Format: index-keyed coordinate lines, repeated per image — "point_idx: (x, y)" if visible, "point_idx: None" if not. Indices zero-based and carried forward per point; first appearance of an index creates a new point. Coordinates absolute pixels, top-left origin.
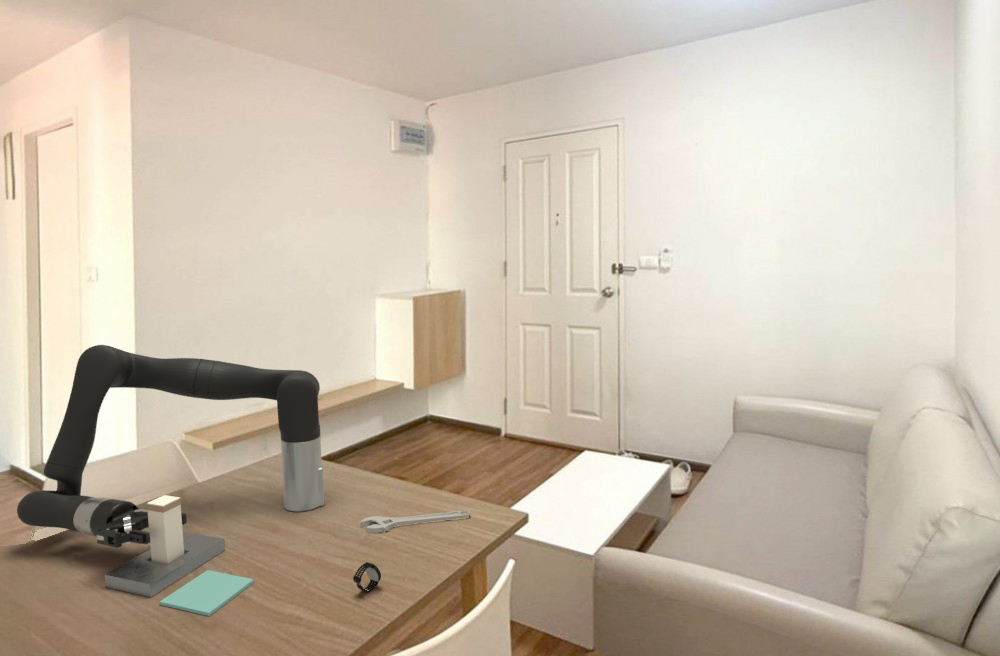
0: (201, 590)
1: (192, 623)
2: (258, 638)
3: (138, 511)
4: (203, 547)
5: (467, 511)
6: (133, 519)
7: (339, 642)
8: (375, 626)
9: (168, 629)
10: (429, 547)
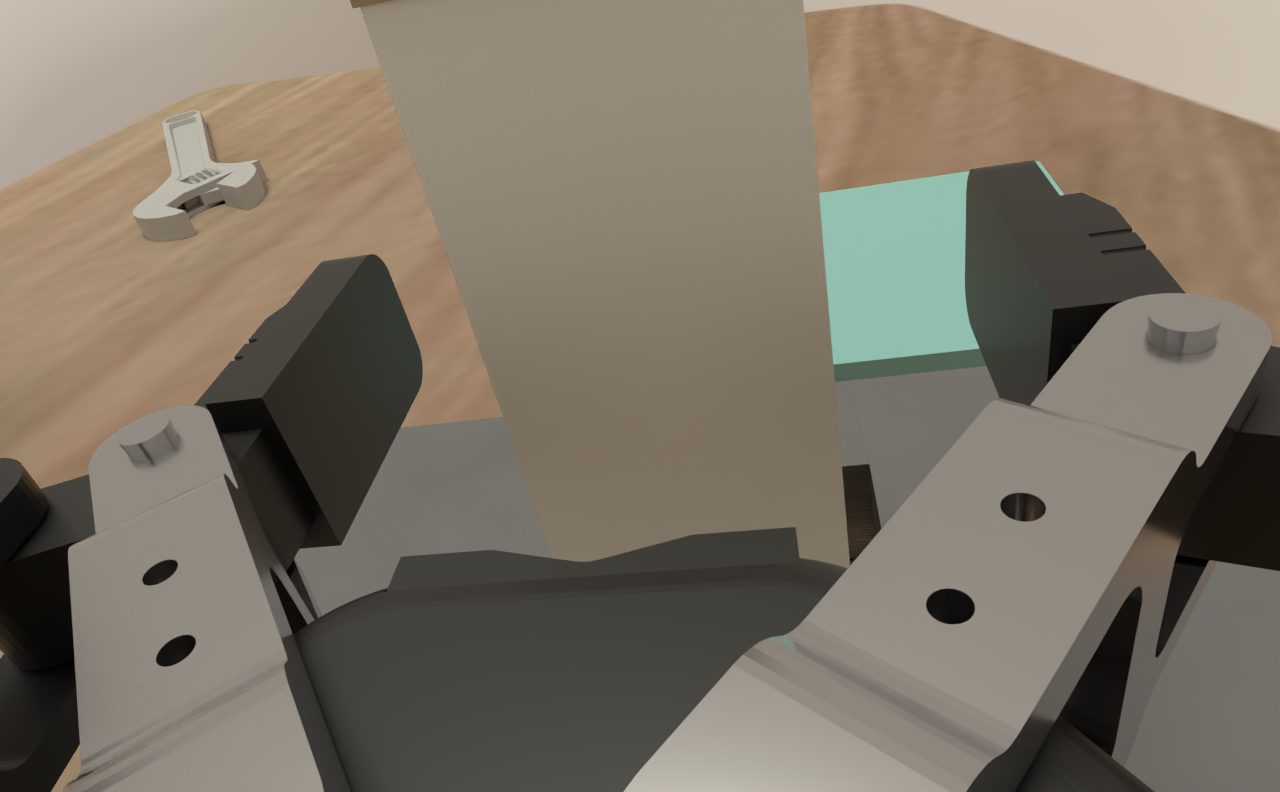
0: (919, 270)
1: (1125, 182)
2: (1018, 68)
3: (297, 753)
4: (513, 451)
5: (170, 119)
6: (666, 735)
7: (904, 13)
8: (806, 16)
9: (1243, 202)
10: (389, 101)
